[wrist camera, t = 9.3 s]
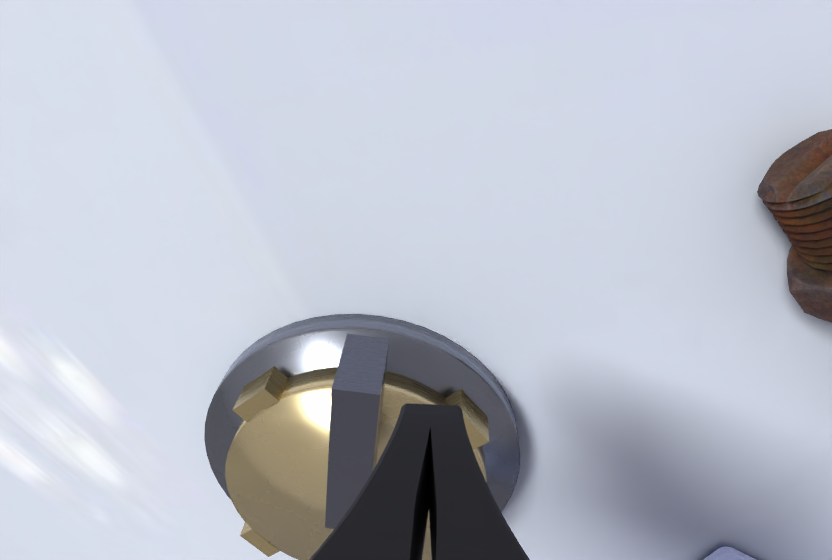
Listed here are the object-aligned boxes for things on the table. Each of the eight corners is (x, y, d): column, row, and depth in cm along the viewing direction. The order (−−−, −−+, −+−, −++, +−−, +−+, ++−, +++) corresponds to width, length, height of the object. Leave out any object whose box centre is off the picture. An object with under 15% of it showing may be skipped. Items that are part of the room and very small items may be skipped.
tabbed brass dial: (349, 587, 30) (334, 680, 26) (162, 442, 26) (111, 528, 22) (557, 490, 26) (575, 584, 22) (374, 297, 21) (357, 372, 17)
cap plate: (581, 407, 25) (586, 427, 24) (419, 574, 31) (417, 595, 30) (288, 255, 22) (280, 270, 21) (173, 471, 29) (163, 491, 28)
